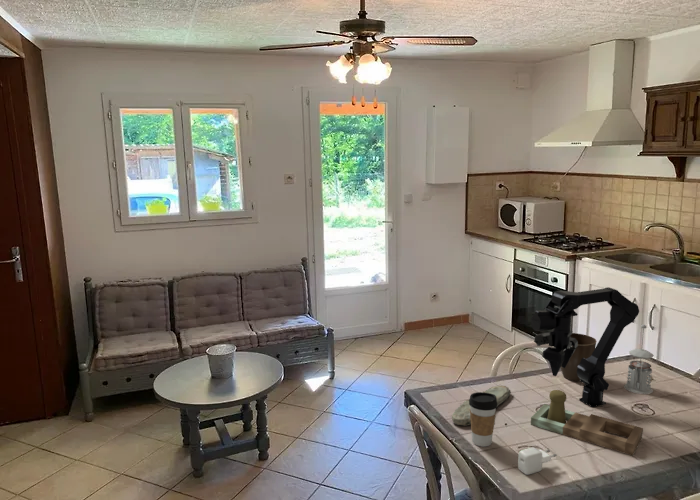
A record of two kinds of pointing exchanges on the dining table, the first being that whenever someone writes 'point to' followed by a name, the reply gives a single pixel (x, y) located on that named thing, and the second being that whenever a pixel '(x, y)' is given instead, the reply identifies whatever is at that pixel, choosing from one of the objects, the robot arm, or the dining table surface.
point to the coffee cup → (482, 417)
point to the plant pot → (578, 355)
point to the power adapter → (533, 460)
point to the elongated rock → (463, 412)
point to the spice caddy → (592, 429)
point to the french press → (639, 372)
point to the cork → (557, 406)
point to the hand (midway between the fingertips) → (559, 371)
